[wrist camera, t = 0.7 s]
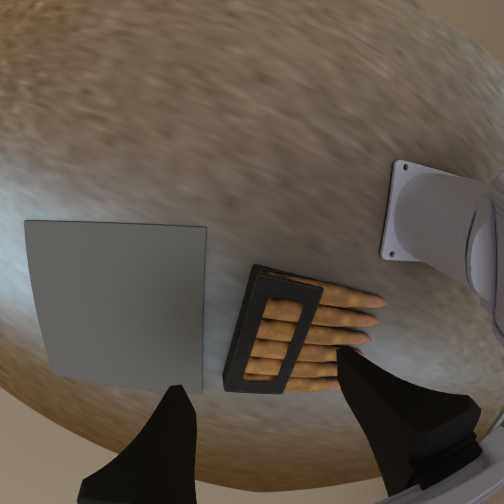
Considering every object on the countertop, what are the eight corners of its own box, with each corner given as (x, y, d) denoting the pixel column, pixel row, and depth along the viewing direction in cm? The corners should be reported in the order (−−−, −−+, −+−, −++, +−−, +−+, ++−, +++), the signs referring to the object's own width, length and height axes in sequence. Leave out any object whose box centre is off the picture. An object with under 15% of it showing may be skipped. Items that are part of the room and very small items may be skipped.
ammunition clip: (221, 377, 24) (341, 385, 27) (223, 391, 23) (348, 397, 25) (253, 263, 22) (385, 289, 24) (257, 273, 20) (396, 298, 22)
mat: (206, 226, 21) (206, 227, 20) (202, 391, 25) (202, 394, 25) (25, 220, 19) (23, 220, 18) (54, 372, 23) (53, 374, 23)
